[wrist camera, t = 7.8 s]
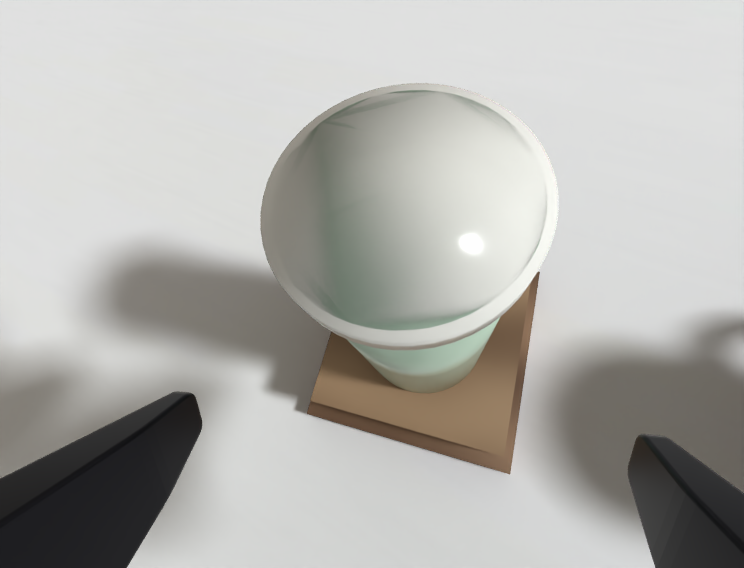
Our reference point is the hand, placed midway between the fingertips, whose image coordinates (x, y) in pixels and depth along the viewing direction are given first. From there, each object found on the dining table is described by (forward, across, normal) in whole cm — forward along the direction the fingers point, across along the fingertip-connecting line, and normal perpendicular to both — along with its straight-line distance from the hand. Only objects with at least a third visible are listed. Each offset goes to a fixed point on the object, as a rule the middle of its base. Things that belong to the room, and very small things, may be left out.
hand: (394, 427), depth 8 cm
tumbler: (+10, 0, +4) cm, 11 cm away
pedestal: (+13, 0, +6) cm, 14 cm away
